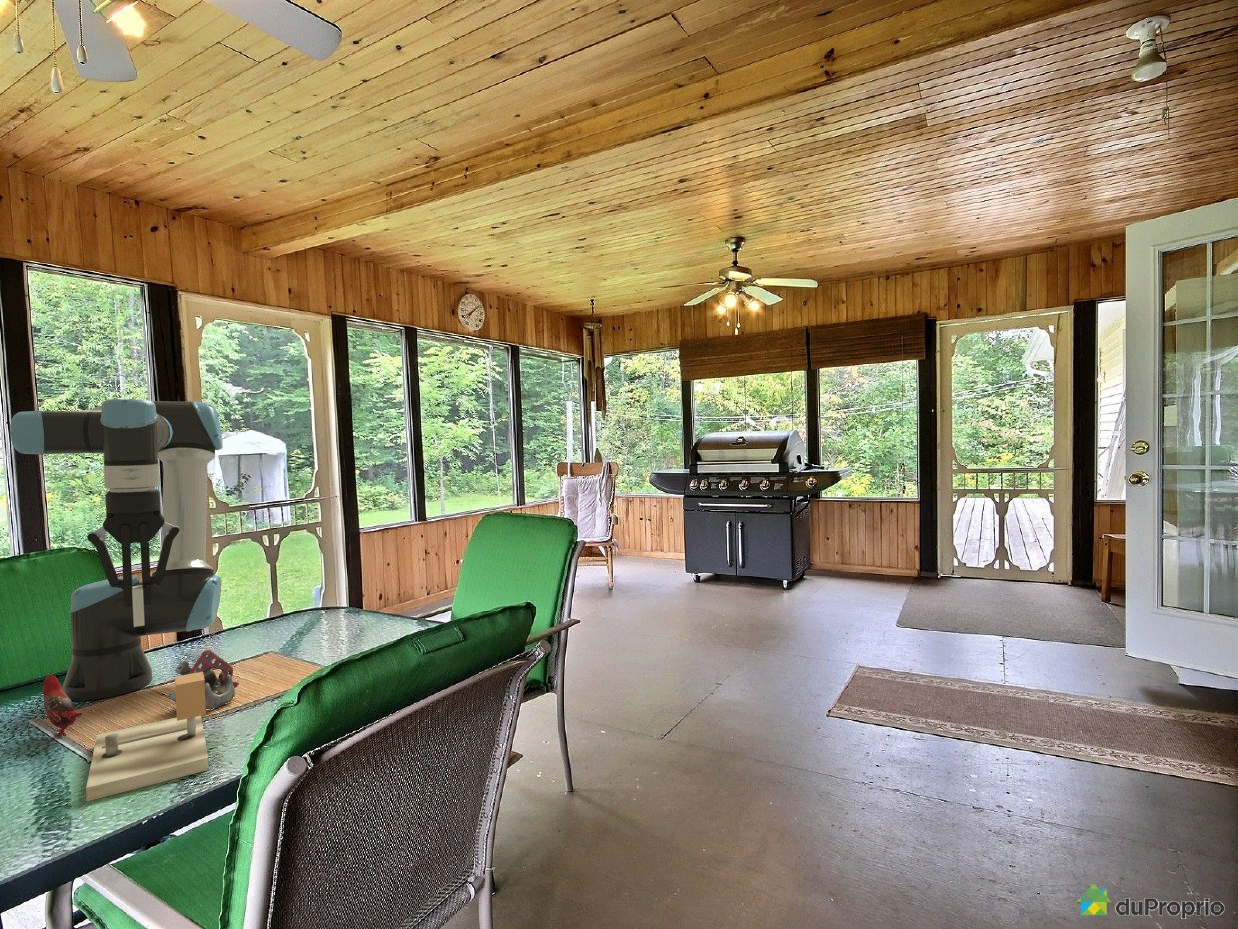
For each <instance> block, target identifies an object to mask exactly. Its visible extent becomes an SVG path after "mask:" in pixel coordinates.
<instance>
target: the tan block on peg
mask: <svg viewBox="0 0 1238 929" xmlns="http://www.w3.org/2000/svg"><path fill="white" fill-rule="evenodd" d="M174 680H175V683H174V684H175V686H174V687H175V693H176V702H175V707H176V708H175V711H176V717H177V721H179V720H184V719H187V734H188V735H191V734H194V733H196V724H195V717H197V716H201V717H202V716H206V714H207V711H206V709H205V680H204V675H203V672H198V673H193V674H187V675H178V676H175V677H174Z"/></svg>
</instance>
